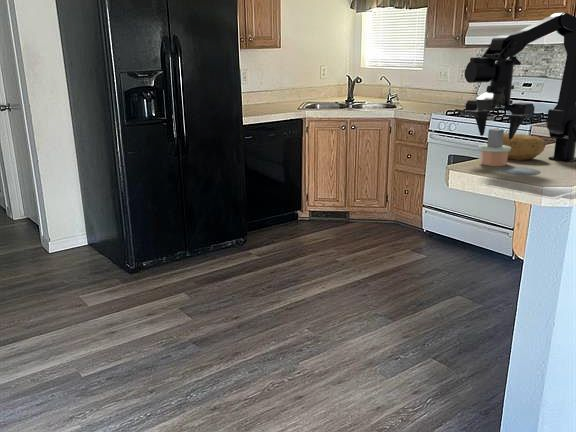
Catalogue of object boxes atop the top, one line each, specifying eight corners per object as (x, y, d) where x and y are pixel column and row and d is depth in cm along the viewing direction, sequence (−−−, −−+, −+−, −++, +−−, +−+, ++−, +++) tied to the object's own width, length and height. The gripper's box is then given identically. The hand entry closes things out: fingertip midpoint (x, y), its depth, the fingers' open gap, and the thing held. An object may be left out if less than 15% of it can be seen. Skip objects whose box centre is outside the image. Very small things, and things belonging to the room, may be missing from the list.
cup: (489, 161, 168) (490, 146, 167) (510, 164, 163) (512, 149, 161) (475, 164, 164) (477, 149, 163) (497, 168, 159) (498, 152, 157)
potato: (537, 165, 162) (540, 138, 160) (490, 159, 171) (492, 133, 169) (548, 160, 169) (551, 134, 167) (502, 155, 178) (504, 130, 176)
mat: (511, 166, 160) (511, 165, 160) (548, 172, 152) (548, 171, 152) (489, 171, 154) (489, 170, 154) (527, 178, 146) (527, 177, 146)
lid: (489, 145, 168) (491, 126, 166) (517, 149, 161) (519, 129, 160) (471, 149, 163) (473, 129, 161) (499, 153, 156) (501, 132, 154)
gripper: (455, 82, 159) (451, 136, 163) (516, 84, 145) (510, 144, 149) (478, 80, 165) (474, 132, 170) (538, 82, 151) (531, 139, 156)
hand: (495, 137), depth 161 cm, fingers open, 9 cm apart
